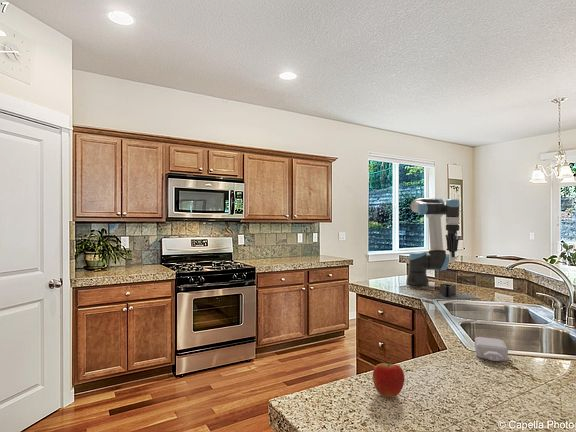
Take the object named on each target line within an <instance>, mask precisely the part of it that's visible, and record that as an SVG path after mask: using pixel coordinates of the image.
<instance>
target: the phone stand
mask: <svg viewBox="0 0 576 432" xmlns="http://www.w3.org/2000/svg"><path fill="white" fill-rule="evenodd" d="M439 284H440V285H439V294H442V295H444V296H445V297H447V296H448V298H449V297H451V296H453V295H456V294H457V287H456V286H457V285H456V284H448V283H439Z"/></svg>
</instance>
